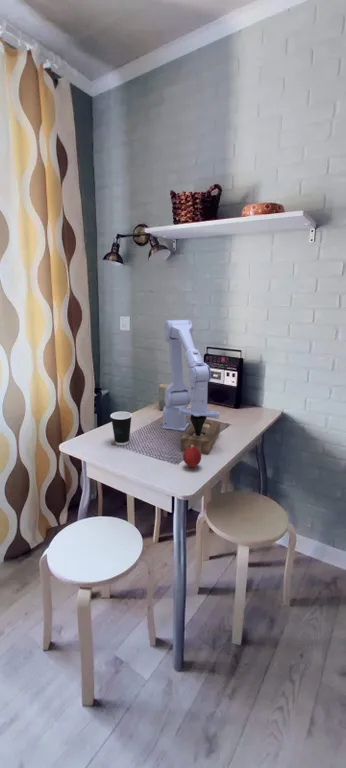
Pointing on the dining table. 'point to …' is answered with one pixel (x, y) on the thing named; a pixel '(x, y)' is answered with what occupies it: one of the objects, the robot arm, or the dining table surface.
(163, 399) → the carving
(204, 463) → the dining table surface
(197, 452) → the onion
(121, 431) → the dixie cup
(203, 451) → the walnut block
